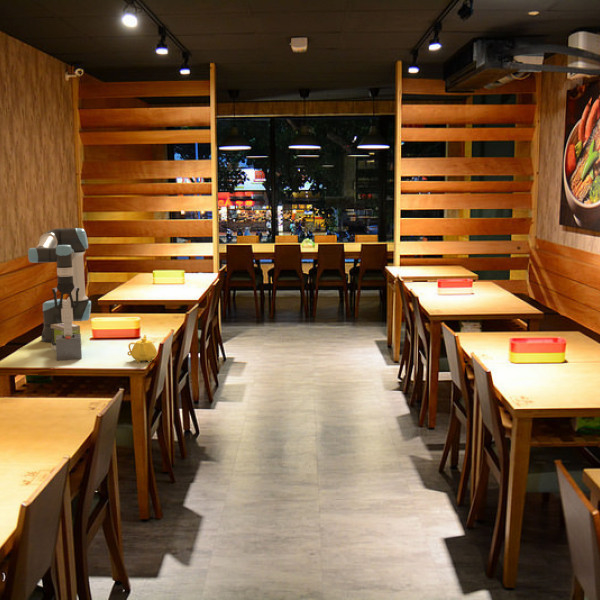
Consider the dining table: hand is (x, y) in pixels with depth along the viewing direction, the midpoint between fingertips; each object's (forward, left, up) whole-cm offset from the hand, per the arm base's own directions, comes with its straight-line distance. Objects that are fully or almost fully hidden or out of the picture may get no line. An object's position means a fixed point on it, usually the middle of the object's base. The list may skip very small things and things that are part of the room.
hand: (67, 321), depth 357 cm
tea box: (-17, -10, -20) cm, 28 cm away
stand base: (0, 0, -20) cm, 20 cm away
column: (0, 0, -13) cm, 13 cm away
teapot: (-3, +38, -20) cm, 43 cm away
